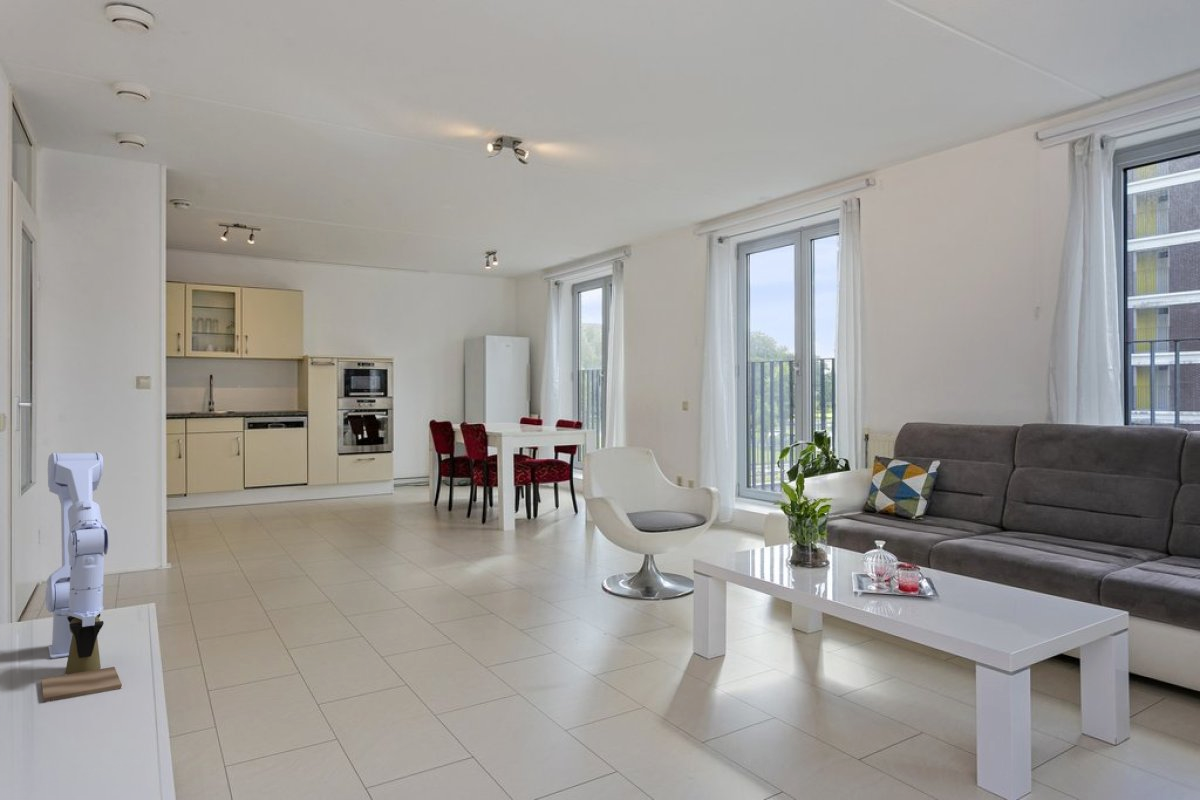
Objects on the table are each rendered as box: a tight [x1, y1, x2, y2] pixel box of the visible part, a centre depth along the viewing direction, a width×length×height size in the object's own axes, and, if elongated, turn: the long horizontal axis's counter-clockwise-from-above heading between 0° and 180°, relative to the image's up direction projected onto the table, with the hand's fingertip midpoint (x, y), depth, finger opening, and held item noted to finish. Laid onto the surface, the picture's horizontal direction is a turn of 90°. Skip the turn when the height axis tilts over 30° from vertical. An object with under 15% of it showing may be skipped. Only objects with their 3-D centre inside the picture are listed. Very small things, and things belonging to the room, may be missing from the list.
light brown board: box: [40, 666, 123, 703], centre depth 142 cm, size 12×12×1 cm
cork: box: [64, 616, 102, 675], centre depth 151 cm, size 6×6×11 cm
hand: (83, 653), depth 151 cm, fingers closed on cork, 5 cm apart
